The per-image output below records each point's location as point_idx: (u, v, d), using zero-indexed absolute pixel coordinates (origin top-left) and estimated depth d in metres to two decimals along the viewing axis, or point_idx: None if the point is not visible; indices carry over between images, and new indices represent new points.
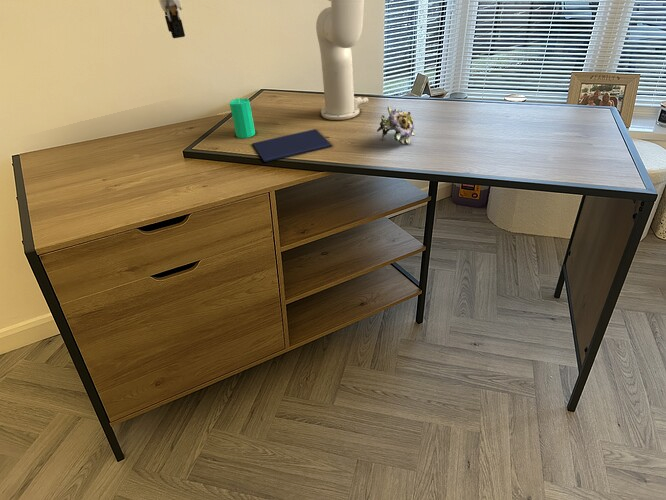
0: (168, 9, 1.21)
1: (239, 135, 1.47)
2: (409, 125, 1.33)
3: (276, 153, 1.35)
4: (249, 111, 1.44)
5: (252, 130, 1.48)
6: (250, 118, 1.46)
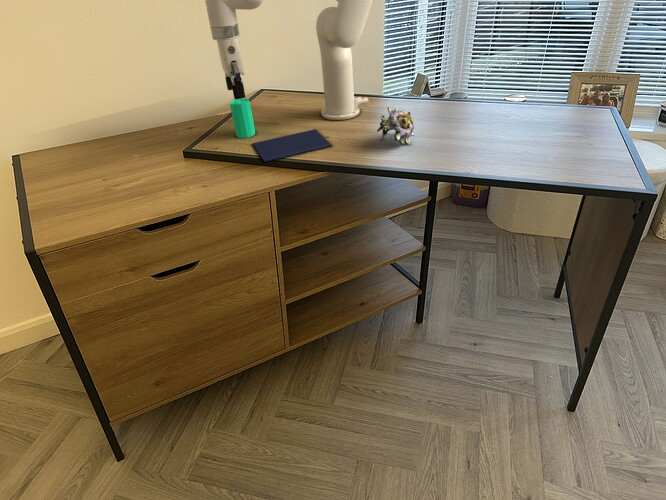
0: (232, 75, 1.35)
1: (239, 135, 1.47)
2: (409, 125, 1.33)
3: (276, 153, 1.35)
4: (249, 111, 1.44)
5: (252, 130, 1.48)
6: (250, 118, 1.46)
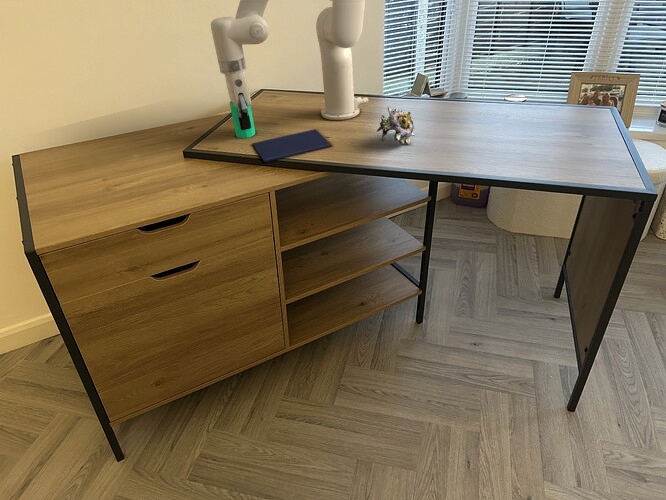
0: (239, 107, 1.41)
1: (239, 135, 1.47)
2: (409, 125, 1.33)
3: (276, 153, 1.35)
4: (249, 111, 1.44)
5: (252, 130, 1.48)
6: (250, 118, 1.46)
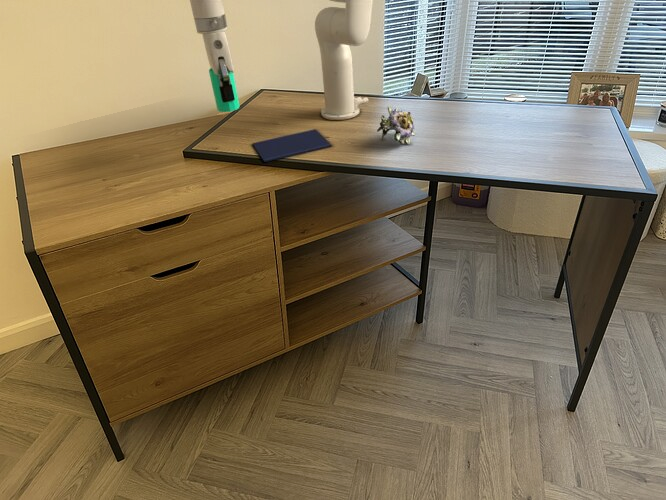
0: (220, 75, 1.21)
1: (220, 108, 1.27)
2: (409, 125, 1.33)
3: (276, 153, 1.35)
4: (232, 80, 1.24)
5: (236, 103, 1.27)
6: (233, 88, 1.25)
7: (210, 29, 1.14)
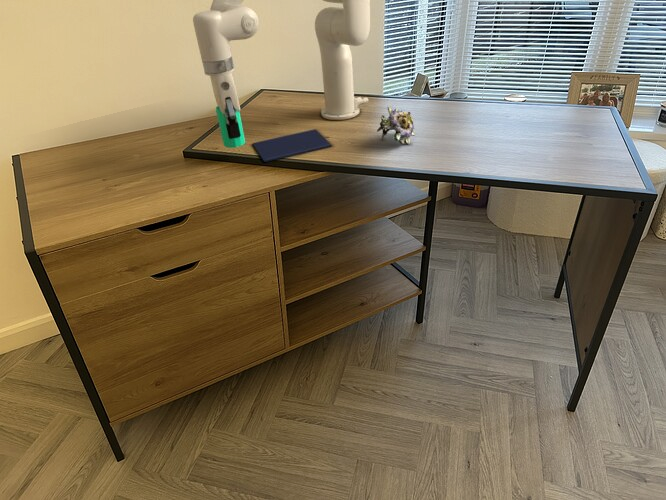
0: (227, 114, 1.25)
1: (227, 144, 1.31)
2: (409, 125, 1.33)
3: (276, 153, 1.35)
4: (238, 117, 1.28)
5: (241, 139, 1.31)
6: (239, 125, 1.29)
7: (218, 71, 1.18)
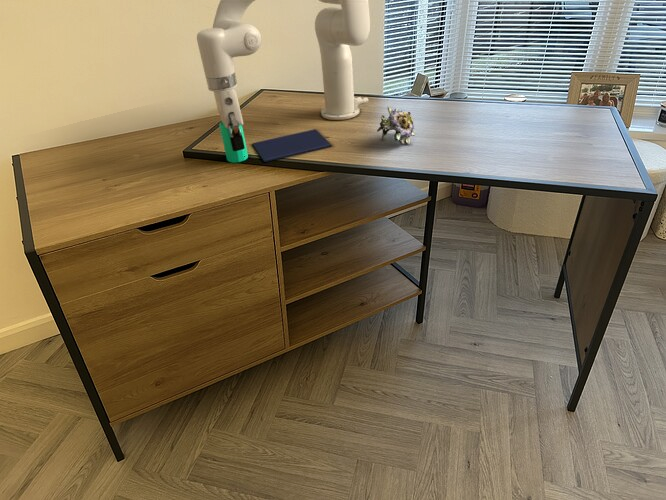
0: (230, 126, 1.26)
1: (230, 159, 1.34)
2: (409, 125, 1.33)
3: (276, 153, 1.35)
4: (241, 133, 1.31)
5: (244, 154, 1.34)
6: None
7: (221, 87, 1.21)
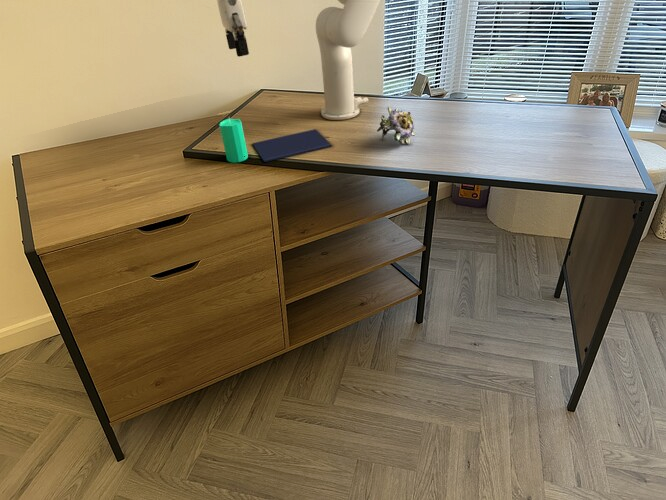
0: (234, 29, 1.26)
1: (230, 159, 1.34)
2: (409, 125, 1.33)
3: (276, 153, 1.35)
4: (241, 133, 1.31)
5: (244, 154, 1.34)
6: (242, 141, 1.32)
7: None
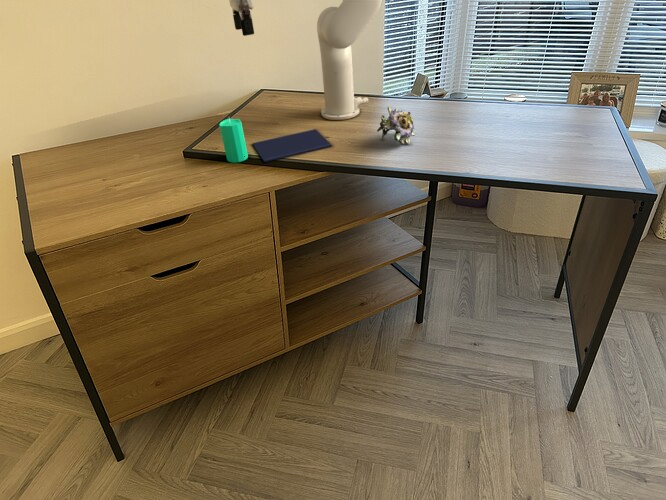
0: (240, 8, 1.30)
1: (230, 159, 1.34)
2: (409, 125, 1.33)
3: (276, 153, 1.35)
4: (241, 133, 1.31)
5: (244, 154, 1.34)
6: (242, 141, 1.32)
7: None
